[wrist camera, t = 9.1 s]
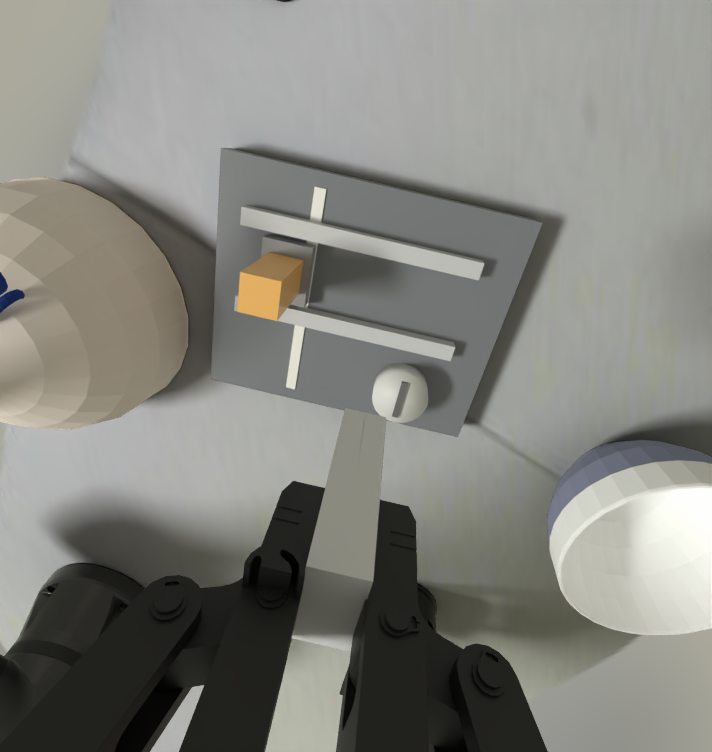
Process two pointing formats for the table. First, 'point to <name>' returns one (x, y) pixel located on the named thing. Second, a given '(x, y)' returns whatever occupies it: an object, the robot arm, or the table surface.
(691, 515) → the bowl
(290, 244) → the fader tab
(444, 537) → the table surface
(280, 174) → the console board
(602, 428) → the table surface
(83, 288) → the kettle
